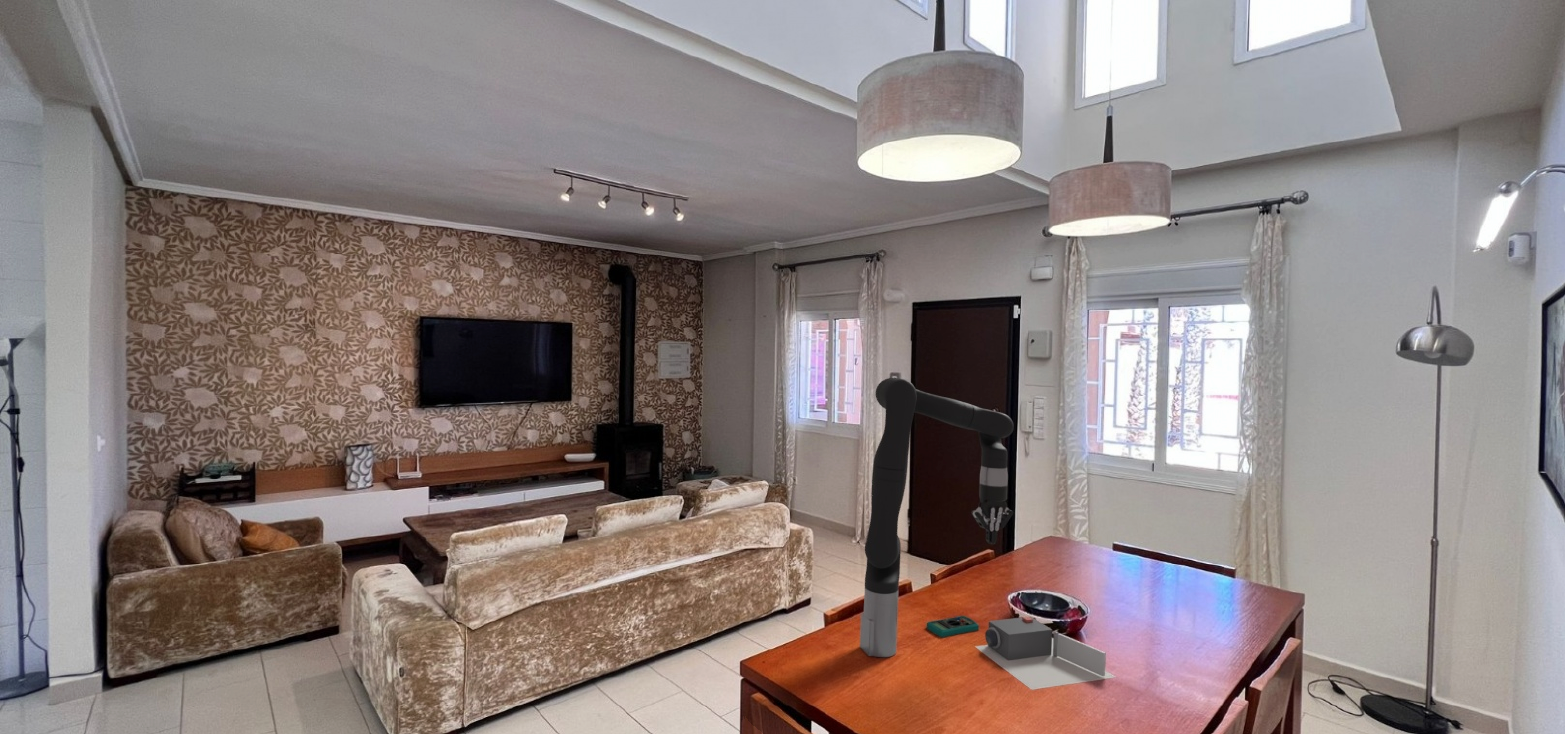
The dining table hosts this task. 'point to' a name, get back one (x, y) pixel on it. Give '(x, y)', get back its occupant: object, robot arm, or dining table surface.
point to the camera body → (1019, 638)
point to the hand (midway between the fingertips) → (991, 543)
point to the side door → (1079, 653)
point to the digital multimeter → (952, 626)
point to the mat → (1043, 670)
